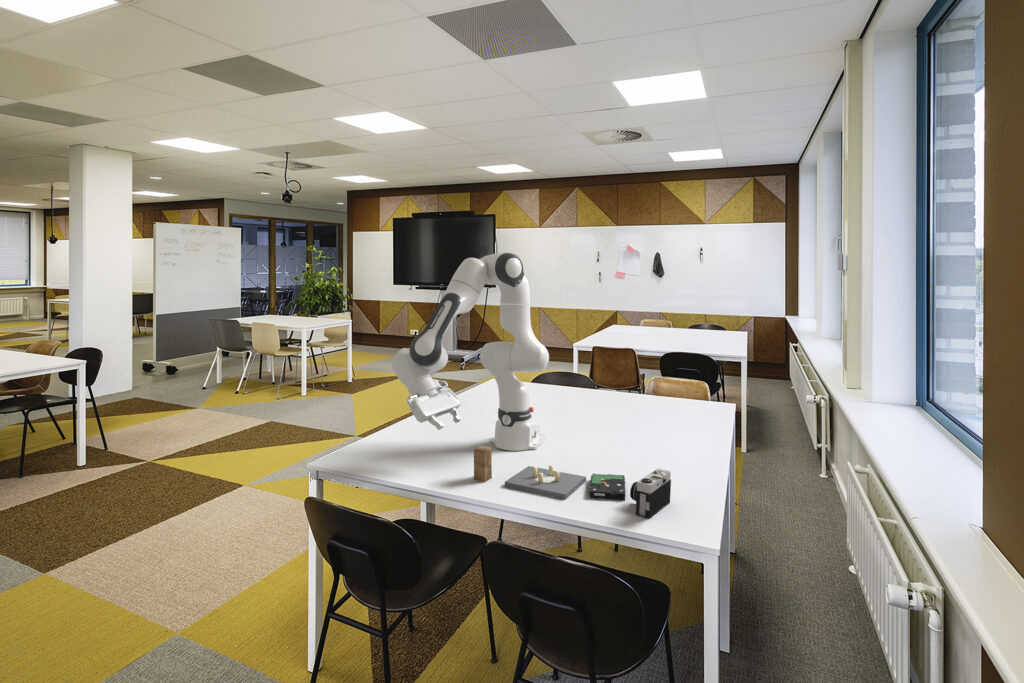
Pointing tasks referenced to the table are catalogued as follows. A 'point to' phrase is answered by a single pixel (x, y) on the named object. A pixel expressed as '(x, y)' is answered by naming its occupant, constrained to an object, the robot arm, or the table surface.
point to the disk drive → (607, 487)
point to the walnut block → (482, 463)
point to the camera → (651, 493)
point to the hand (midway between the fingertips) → (450, 424)
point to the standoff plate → (546, 482)
